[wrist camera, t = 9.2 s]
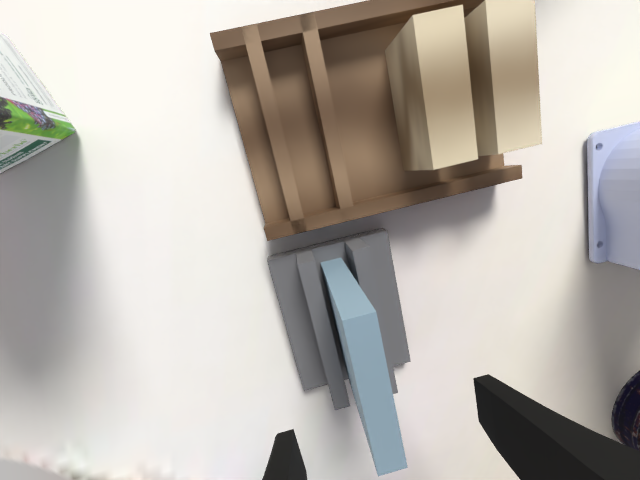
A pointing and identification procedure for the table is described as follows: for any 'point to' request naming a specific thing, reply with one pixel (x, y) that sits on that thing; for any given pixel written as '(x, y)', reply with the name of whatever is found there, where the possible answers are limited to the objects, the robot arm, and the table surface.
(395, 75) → the offcut
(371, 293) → the holder
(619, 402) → the storage jar
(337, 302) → the tall board
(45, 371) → the table surface
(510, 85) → the offcut
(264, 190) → the rack
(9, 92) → the syrup box
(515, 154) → the table surface
